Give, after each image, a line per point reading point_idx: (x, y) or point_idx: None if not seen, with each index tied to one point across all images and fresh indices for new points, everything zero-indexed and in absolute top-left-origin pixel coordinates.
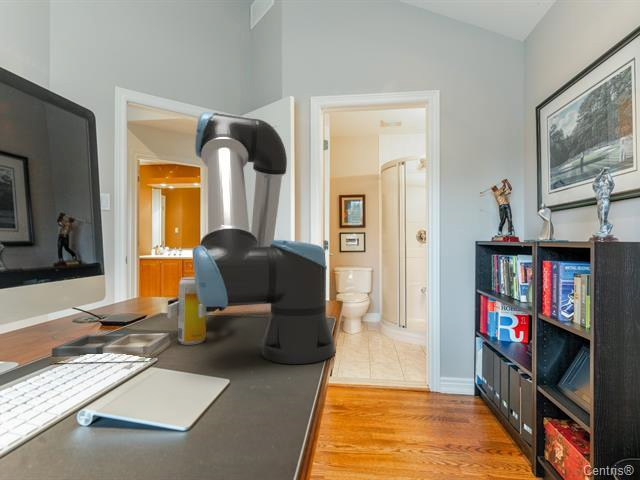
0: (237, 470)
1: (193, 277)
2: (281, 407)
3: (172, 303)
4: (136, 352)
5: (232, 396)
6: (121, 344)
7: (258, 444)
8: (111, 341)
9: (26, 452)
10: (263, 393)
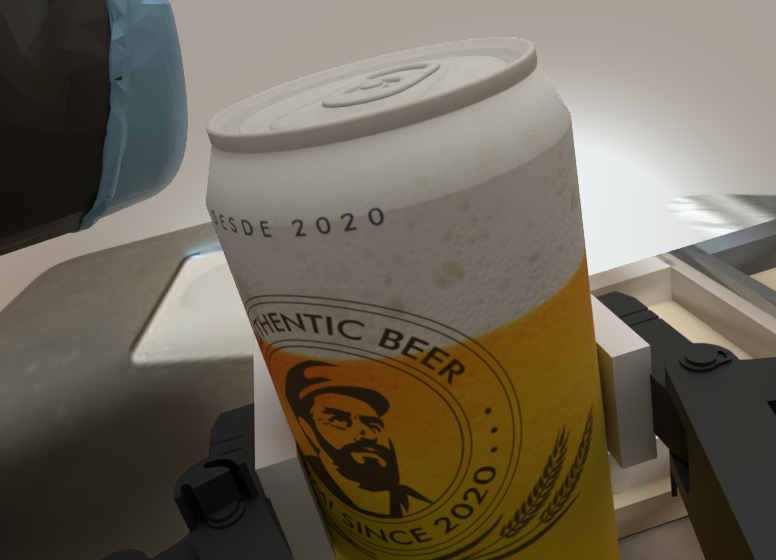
0: (112, 249)
1: (448, 96)
2: (27, 326)
3: (748, 363)
4: None
5: (122, 320)
6: (738, 334)
7: (84, 272)
8: (746, 285)
9: None
10: (51, 345)
